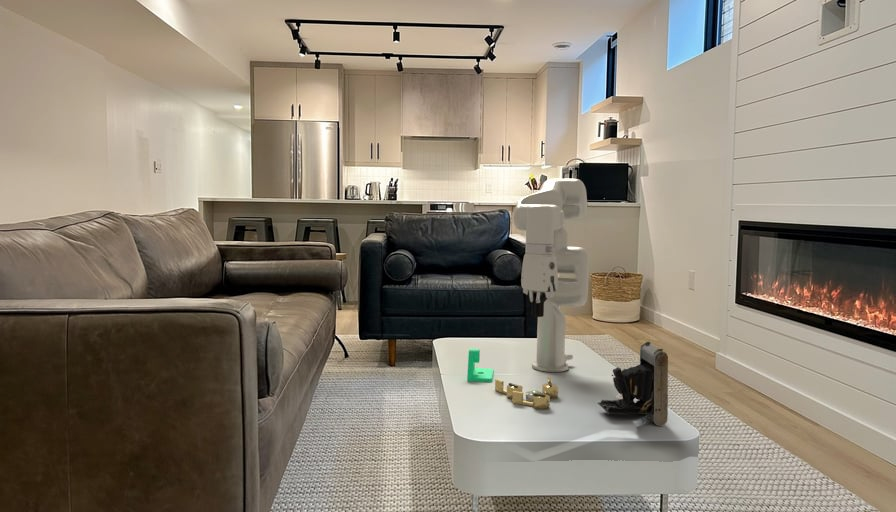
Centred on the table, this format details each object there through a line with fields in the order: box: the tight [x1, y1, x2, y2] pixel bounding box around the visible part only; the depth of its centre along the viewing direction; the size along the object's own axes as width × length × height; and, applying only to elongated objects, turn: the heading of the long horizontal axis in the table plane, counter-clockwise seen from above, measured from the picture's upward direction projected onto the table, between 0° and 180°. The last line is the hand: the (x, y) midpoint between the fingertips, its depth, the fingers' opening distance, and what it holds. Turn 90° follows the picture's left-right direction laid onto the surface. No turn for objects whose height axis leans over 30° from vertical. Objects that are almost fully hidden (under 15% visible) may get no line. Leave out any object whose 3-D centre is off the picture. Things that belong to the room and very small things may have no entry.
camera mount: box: [466, 348, 494, 383], centre depth 184 cm, size 12×8×10 cm, turn 174°
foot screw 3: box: [541, 377, 559, 400], centre depth 168 cm, size 10×4×4 cm, turn 172°
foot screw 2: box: [511, 391, 551, 411], centre depth 157 cm, size 10×4×4 cm, turn 65°
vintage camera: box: [597, 341, 669, 427], centre depth 150 cm, size 10×15×20 cm, turn 95°
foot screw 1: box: [494, 378, 523, 400], centre depth 166 cm, size 10×4×4 cm, turn 35°
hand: (537, 316), depth 160 cm, fingers closed
